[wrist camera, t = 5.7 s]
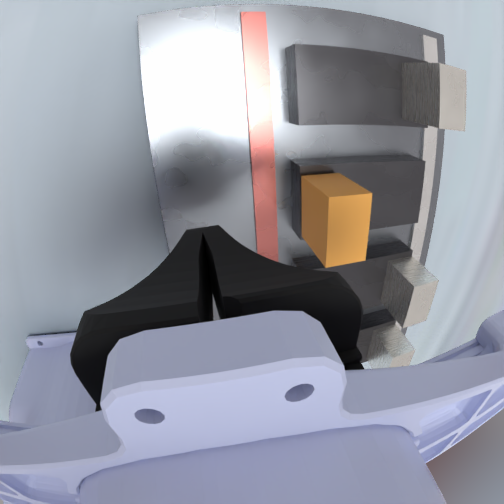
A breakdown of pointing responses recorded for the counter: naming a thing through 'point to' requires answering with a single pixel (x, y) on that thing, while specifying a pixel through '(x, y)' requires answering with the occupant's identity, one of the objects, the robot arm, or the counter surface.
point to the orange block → (335, 218)
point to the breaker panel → (304, 139)
